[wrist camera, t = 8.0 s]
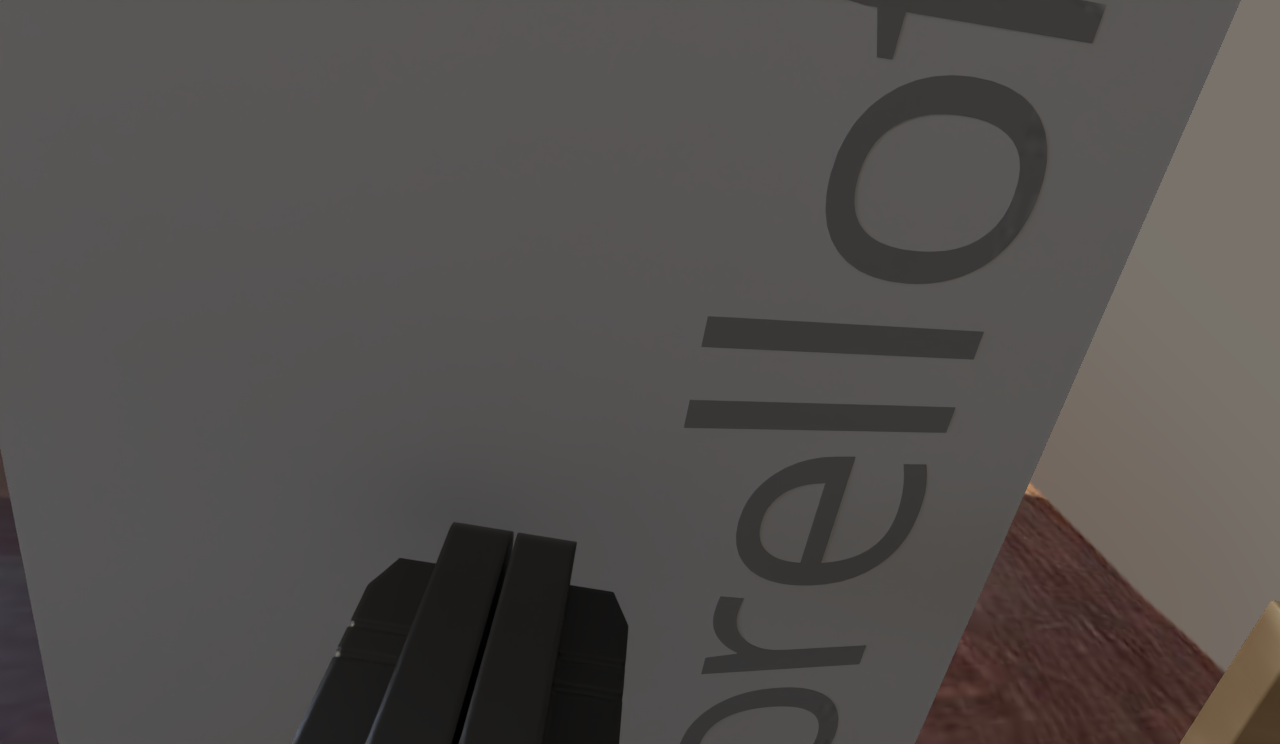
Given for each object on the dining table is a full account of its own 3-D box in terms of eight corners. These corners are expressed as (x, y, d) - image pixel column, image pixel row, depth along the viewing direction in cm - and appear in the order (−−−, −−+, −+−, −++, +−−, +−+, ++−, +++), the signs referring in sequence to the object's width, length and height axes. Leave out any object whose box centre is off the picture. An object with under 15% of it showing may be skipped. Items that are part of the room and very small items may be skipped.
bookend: (1305, 983, 24) (1575, 681, 19) (1090, 950, 24) (1304, 637, 19) (1192, 790, 29) (1378, 514, 24) (1017, 762, 29) (1166, 478, 24)
